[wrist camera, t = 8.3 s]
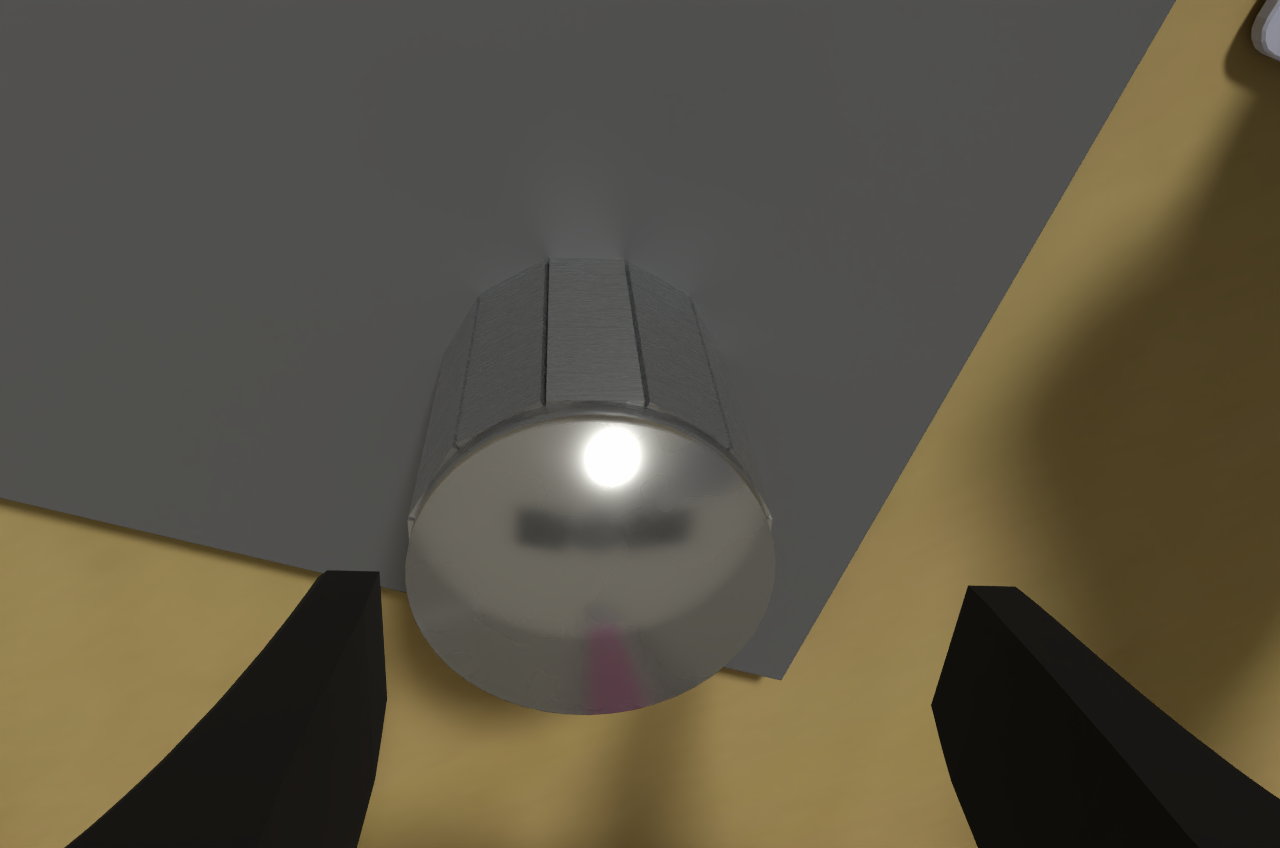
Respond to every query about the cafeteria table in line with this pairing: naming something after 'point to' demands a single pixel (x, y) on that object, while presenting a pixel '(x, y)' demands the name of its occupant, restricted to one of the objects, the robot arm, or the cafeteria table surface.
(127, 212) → the base board
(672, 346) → the cylinder
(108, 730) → the cafeteria table surface
